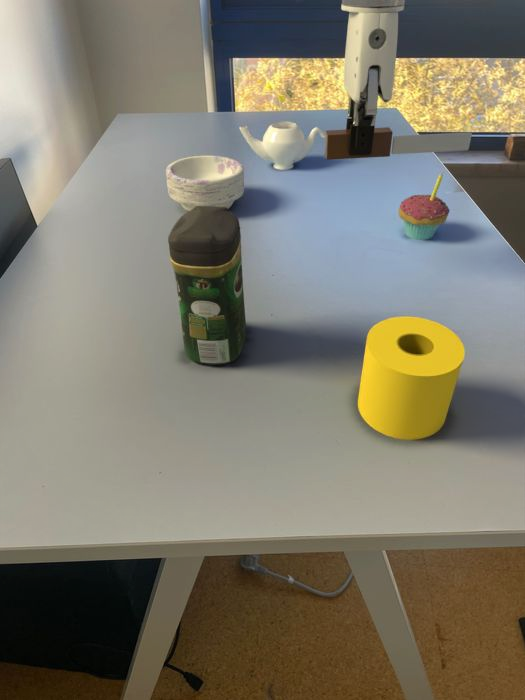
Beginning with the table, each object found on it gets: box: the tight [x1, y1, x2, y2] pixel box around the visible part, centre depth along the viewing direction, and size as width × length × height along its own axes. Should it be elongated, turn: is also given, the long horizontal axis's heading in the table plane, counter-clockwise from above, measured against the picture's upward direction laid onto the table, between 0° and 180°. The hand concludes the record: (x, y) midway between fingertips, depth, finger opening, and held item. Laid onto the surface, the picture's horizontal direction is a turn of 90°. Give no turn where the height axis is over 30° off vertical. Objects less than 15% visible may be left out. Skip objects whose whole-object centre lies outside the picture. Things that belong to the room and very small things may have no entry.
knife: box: [324, 126, 473, 161], centre depth 73 cm, size 20×2×3 cm, turn 92°
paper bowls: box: [165, 154, 245, 212], centre depth 103 cm, size 15×15×8 cm
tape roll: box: [357, 316, 466, 441], centre depth 57 cm, size 10×10×9 cm
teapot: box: [239, 121, 326, 171], centre depth 119 cm, size 10×20×9 cm, turn 92°
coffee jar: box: [167, 206, 247, 366], centre depth 64 cm, size 10×8×19 cm
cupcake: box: [398, 170, 451, 241], centre depth 90 cm, size 9×8×12 cm
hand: (357, 150), depth 73 cm, fingers closed on knife, 2 cm apart
